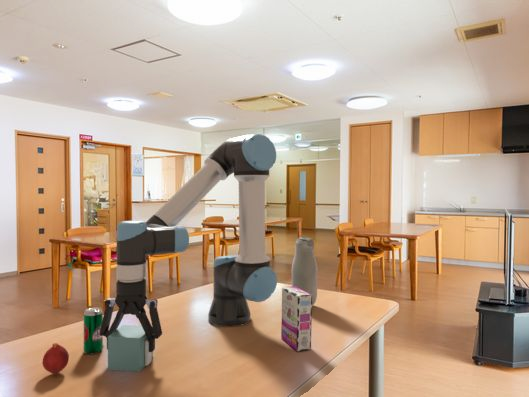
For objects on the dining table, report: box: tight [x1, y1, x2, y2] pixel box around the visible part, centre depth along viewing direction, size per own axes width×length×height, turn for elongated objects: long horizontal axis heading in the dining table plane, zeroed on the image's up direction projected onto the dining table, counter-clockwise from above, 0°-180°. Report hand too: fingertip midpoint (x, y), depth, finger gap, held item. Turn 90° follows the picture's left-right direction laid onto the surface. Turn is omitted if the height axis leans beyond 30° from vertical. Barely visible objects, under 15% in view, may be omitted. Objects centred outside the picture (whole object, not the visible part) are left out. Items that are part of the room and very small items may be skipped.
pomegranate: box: [42, 342, 70, 376], centre depth 96 cm, size 6×6×8 cm
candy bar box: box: [280, 286, 313, 353], centre depth 117 cm, size 11×5×16 cm, turn 23°
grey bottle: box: [291, 236, 319, 306], centre depth 154 cm, size 10×10×28 cm
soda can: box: [83, 307, 104, 355], centre depth 110 cm, size 5×5×12 cm
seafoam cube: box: [107, 324, 154, 372], centre depth 103 cm, size 9×9×9 cm
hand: (130, 362), depth 103 cm, fingers open, 9 cm apart
